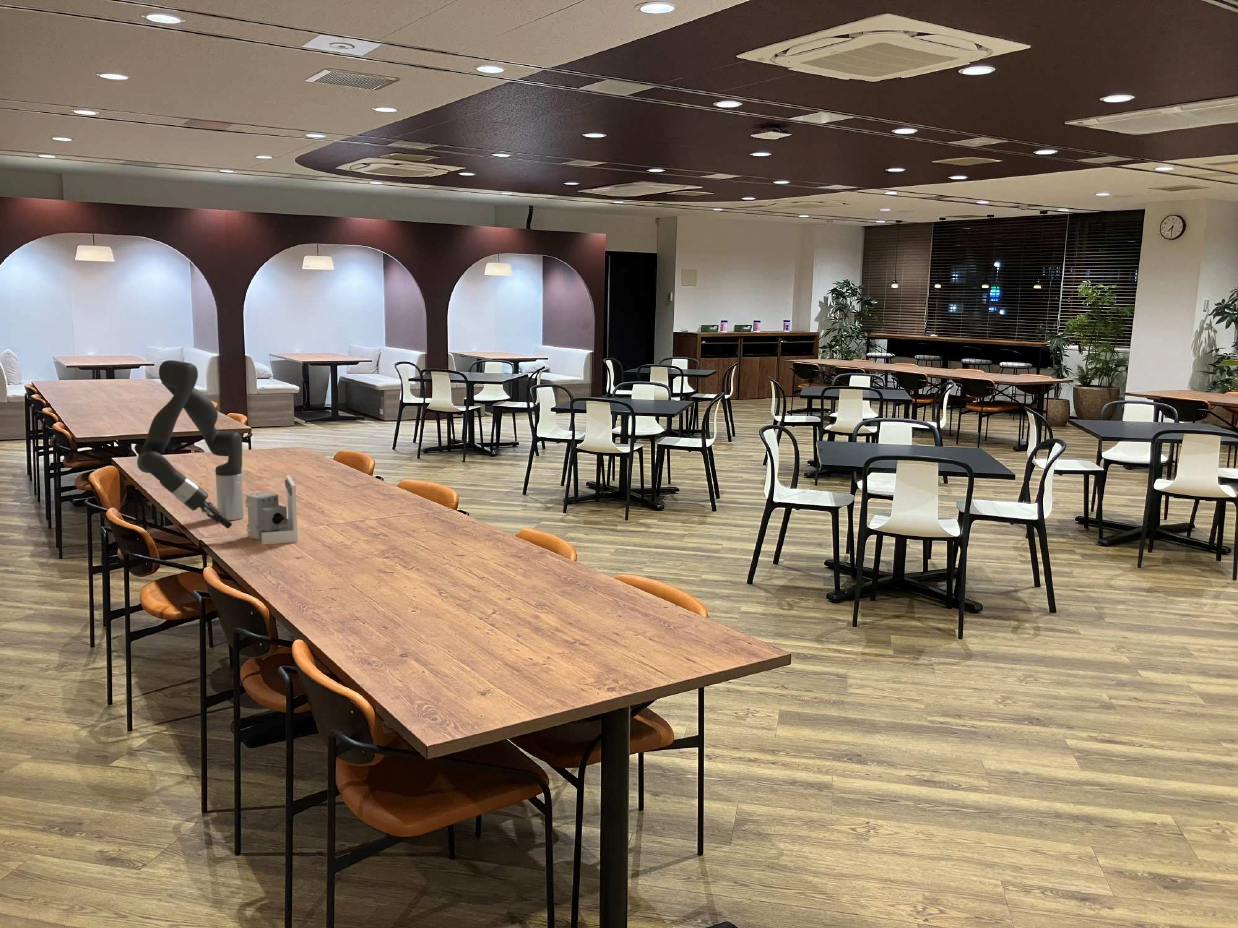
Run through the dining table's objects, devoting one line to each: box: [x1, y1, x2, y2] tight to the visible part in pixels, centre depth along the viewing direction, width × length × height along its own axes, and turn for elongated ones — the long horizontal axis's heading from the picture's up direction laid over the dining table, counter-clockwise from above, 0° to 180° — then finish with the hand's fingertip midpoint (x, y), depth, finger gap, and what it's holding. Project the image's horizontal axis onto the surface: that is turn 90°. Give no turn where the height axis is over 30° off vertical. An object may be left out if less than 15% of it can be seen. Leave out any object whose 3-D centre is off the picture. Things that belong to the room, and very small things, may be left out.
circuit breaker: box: [245, 491, 288, 541], centre depth 346 cm, size 8×14×15 cm, turn 55°
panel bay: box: [261, 475, 299, 545], centre depth 347 cm, size 20×12×20 cm, turn 24°
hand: (230, 526), depth 342 cm, fingers closed
